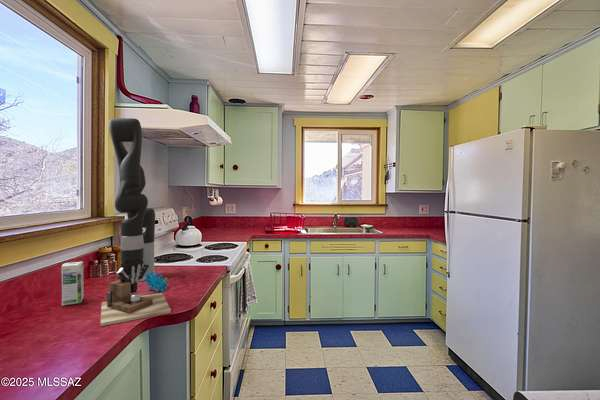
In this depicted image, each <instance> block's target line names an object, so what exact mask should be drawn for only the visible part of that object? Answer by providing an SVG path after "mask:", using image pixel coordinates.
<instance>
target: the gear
mask: <svg viewBox="0 0 600 400" xmlns="http://www.w3.org/2000/svg"><path fill="white" fill-rule="evenodd" d="M158 275H159V273H158V272H154V276H153V272H150V273H149V274H147V275H146V278H145V282H146V283H145V285H146V286H147V287H148V286H150V287H149V288H148V289H147V290H148V291H153V289H154V292H155V293H158V292H160V293H164V291H166V290H167V289H168V283H167V280H168V278H167V277H164V276H163V275H162V274H160V275H159V276H158ZM150 276H151V277H150ZM148 278H149V279H148Z"/></svg>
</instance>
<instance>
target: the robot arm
mask: <svg viewBox="0 0 600 400" xmlns="http://www.w3.org/2000/svg"><path fill="white" fill-rule="evenodd" d="M109 119H110V120H109V121H108V130H109V134H110V138H111V141H112V145H113V148H114V151H115V156H116V160H117V165H118V172H119V173H118V174H119V176H118V177H119V188H118V190H117V191H118V192H117V195H116V199H115V201H114V207H115V210H116V211H117V212H118V213H121V214H126V215H127V219H126V218H125V219H122V221H121V223H120V233H121V234H120V262H121V265H120V268H119V270H118V271H115V272H114V275H115V277H116V278H118V280H120V281H125V282H130V283H131V294H135V293H137V291H138V283H139V282H143V281H145V278H146V275H147V274H149V273H150V272H153V276H154V274H155V233H156V232H155V230H156V228H155V227H156V226H155V225H156V212H155V209H154V208H150V207H148V204H149V199H148V197H147V196H146V195H145V194H143V193H142V192H143V191H144V189H145V188H146V187H145V186H146V183H147V181H146V176H145V170H144V168H143V166H141V158H142V145H143V143H142V142H143V132H142V125H141V122H140V120H139V119H138V118H131V117H129V118H126V117H125V118H124V117H123V118H122V117H119V118H118V117H113V118H109ZM124 143H132V144H131V147H130V149H129V151H128V150H127V149H126V147H125V145H124ZM144 229H145V231H143V230H144ZM150 277H151V276H150ZM148 279H149V278H148ZM145 282H146V281H145Z"/></svg>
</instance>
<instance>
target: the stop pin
mask: <svg viewBox="0 0 600 400" xmlns="http://www.w3.org/2000/svg"><path fill="white" fill-rule="evenodd" d="M106 302H107V307H111V304H112V291H109V290H108V291H107V292H106Z"/></svg>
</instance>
